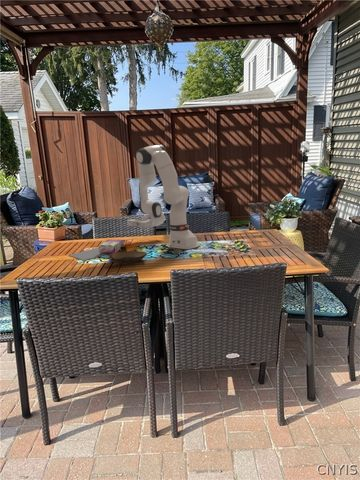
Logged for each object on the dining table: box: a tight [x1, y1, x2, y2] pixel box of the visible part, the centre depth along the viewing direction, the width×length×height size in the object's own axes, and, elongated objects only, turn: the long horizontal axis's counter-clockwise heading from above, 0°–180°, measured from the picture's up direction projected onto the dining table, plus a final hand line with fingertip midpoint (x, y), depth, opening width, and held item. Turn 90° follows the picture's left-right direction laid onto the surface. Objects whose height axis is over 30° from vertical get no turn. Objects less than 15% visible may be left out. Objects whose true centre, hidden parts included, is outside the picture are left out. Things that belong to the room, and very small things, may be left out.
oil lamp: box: [107, 243, 148, 264], centre depth 213 cm, size 22×30×8 cm
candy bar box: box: [98, 239, 125, 253], centre depth 236 cm, size 11×5×16 cm
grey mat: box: [68, 247, 118, 261], centre depth 235 cm, size 20×24×2 cm
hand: (129, 225), depth 251 cm, fingers closed
